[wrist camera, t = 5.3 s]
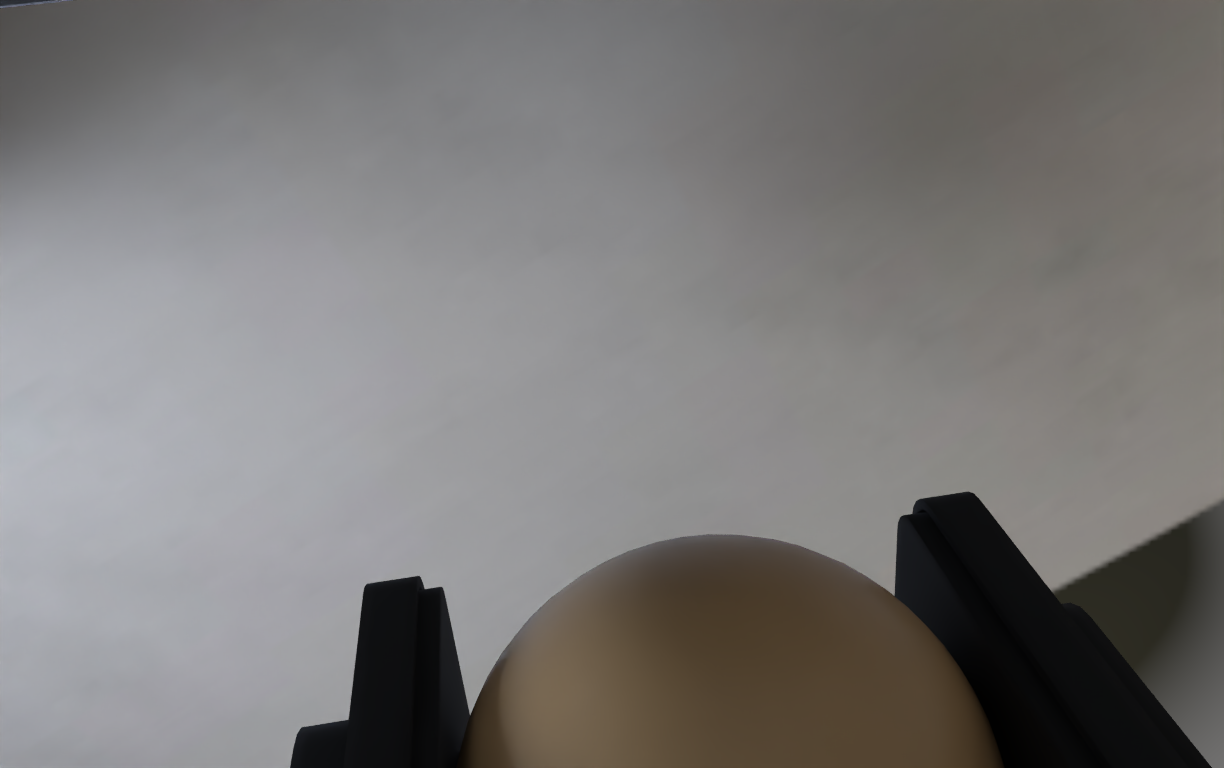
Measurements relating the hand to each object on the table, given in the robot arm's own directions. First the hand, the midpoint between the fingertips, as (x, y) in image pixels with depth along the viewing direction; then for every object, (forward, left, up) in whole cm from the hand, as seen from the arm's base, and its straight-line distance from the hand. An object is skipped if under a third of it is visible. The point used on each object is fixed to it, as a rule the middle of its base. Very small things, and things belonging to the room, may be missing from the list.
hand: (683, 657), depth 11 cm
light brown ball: (0, 0, +2) cm, 2 cm away
